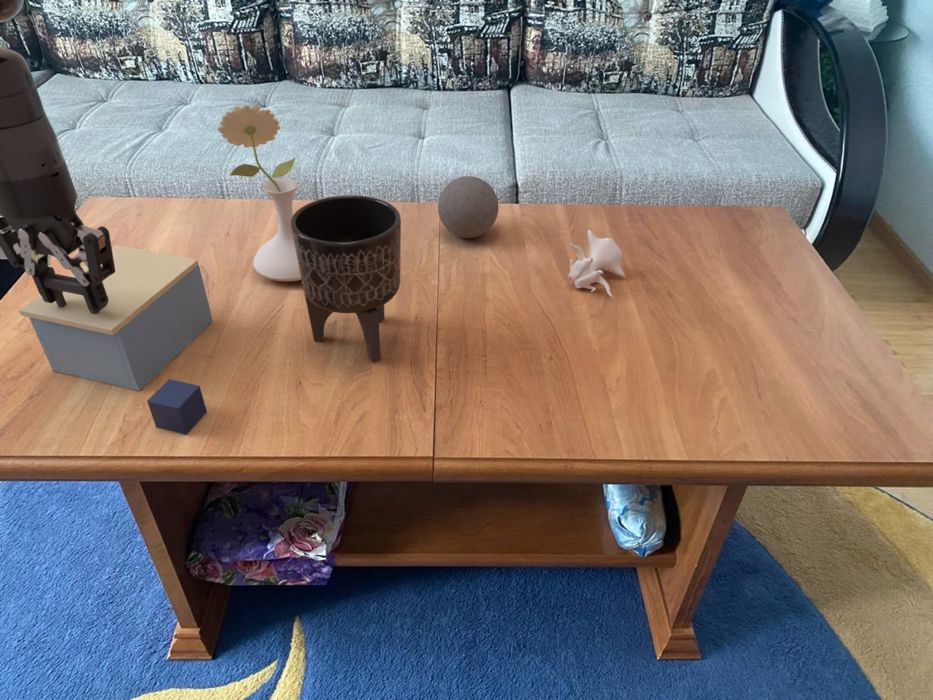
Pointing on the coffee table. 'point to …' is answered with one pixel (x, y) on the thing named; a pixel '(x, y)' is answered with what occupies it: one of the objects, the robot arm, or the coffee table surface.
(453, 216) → the decorative ball
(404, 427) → the coffee table surface
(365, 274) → the planter
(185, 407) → the block
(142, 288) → the lid
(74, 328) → the light blue open box
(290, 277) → the flower in vase
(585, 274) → the figurine
